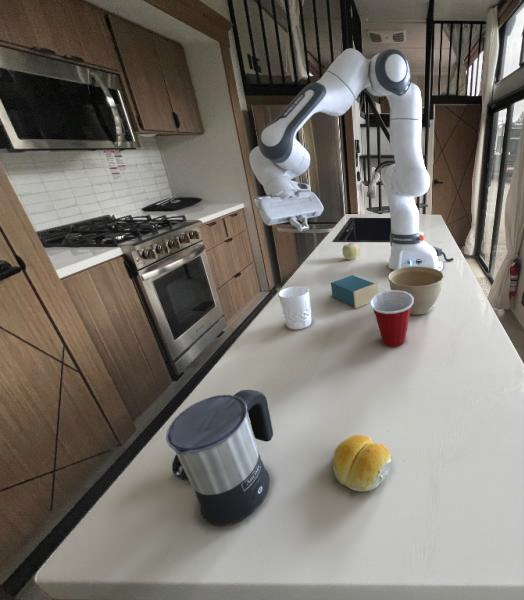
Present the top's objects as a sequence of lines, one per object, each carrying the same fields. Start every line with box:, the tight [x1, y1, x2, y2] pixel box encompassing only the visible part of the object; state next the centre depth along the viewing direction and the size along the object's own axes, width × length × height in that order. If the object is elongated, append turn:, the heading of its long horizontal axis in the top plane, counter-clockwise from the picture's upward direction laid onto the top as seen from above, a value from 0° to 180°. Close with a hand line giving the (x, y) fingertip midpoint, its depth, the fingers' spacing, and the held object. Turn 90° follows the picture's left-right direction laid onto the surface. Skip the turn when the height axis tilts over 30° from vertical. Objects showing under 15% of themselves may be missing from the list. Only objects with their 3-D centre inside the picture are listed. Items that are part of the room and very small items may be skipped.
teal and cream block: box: [330, 274, 379, 309], centre depth 106 cm, size 5×9×13 cm
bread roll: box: [332, 434, 392, 492], centre depth 50 cm, size 8×9×4 cm
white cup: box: [278, 285, 312, 330], centre depth 90 cm, size 8×8×10 cm
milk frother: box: [165, 389, 274, 527], centre depth 46 cm, size 14×16×15 cm
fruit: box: [341, 242, 360, 260], centre depth 142 cm, size 8×7×8 cm
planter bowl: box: [387, 266, 444, 316], centre depth 97 cm, size 16×16×11 cm
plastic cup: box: [368, 290, 414, 348], centre depth 80 cm, size 11×11×12 cm
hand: (304, 229), depth 101 cm, fingers closed
